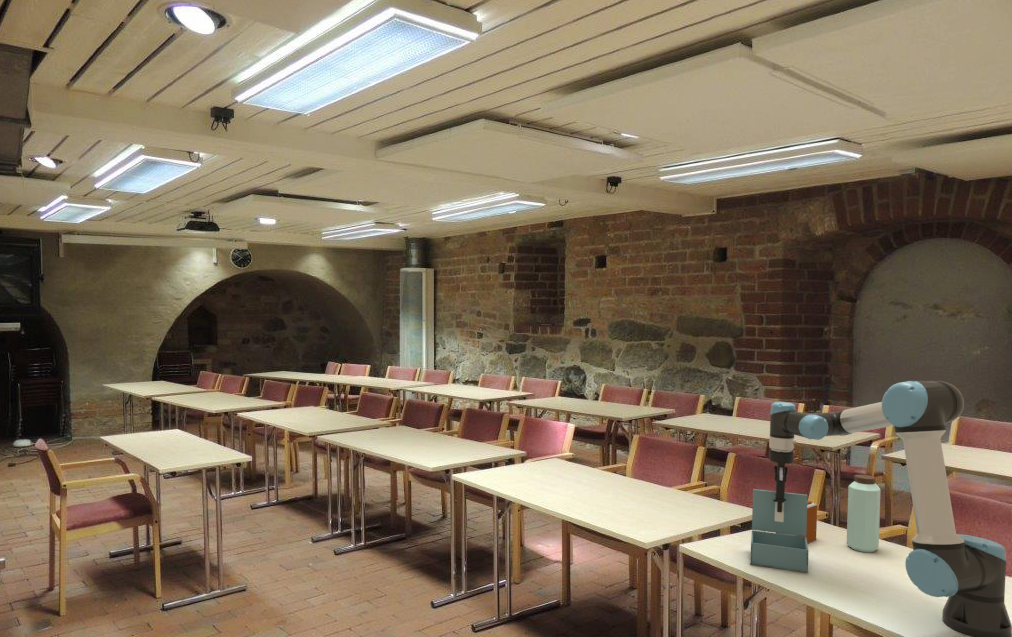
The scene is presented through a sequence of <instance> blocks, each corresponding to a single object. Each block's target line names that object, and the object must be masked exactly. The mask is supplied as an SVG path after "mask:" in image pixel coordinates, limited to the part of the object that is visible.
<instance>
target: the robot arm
mask: <svg viewBox="0 0 1012 637" xmlns="http://www.w3.org/2000/svg"><path fill="white" fill-rule="evenodd" d="M964 408H965V400H964V397H963V395H962V392H961V391H960V390H959V389H958V388H957V387H956V386H955V385H954V384H952V383H950V382H946V381H943V380H907V381H902V382H901V381H900V382H897V383H895V384H892V385H890V387H889V388H888V389H887V390H886V391H885V392H884V394H883V396H882V400H881V401H879V402H875V403H870V404H866V405H862V406H857V407H856V406H855V407H851V408H847V409H842V410H838V411H832V412H831V411H830V412H810V413H809V412H808V413H807V412H801V411H797V409H796V404H794V403H791V402H785V401H784V402H783V401H775V402H772V403H771V406H770V414H769V439H768V440H769V443H768V446H769V451H768V459H769V461H770V462H771V463H776V465H774V466H773V468H774V471H773V472H774V481H775V491H776V494H775V496H776V497H775V499H773V502H775V521H778V522H783V521H784V501H786V499H785V498H784V492H785V491H786V490H785V488H786V482H787V475H788V467H787V466H786V464H792V463H794V460H795V459H794V456H795V455H794V453H795V452H794V449H795V445H794V444H797V441H796V440H795V436H798V437H800V438H801V437H802V438H805V439H808V440H816V441H820V440H822V439H824V438H825V437H832V436H833V437H836V436H837V437H838V436H839V437H843V436H844V437H845V436H849V435H852V434H854V433H858V432H859V433H861V432H865V431H871V430H877V429H883V428H890V427H894V432H895V435H897V436H898V437H899V438H900V439H902V442H903V448H904V455H905V456H904V457H905V462H906V468H907V474H908V480H909V487H910V488H909V489H910V492H911V493H910V495H911V500H912V506H913V512H914V518H915V519H914V521H915V527H916V534H915V535H914V536H913V537H912V539H911V543H912V544H911V545H912V551H909V553H908V556H906V558H905V563H904V564H905V570H906V573H907V576H908V577H909V580H910V581H911V582H912V583H913V585H914V586H916V587H917V589H918V590H920V592H921V593H924V594H925V595H927V596H930V597H935V598H943V597H944V598H947V600H946V602H945V605H944V606H943V609H942V617H941V620H942V621H943V622H944V624H946V626H948V627H950V628H951V629H953V630H955V631H958V633H959V632H960V633H963V634H965V635H968V636H972V637H1012V622H1011V619H1010V616H1009V613H1008V610H1007V607H1006V606H1007V605H1006V604H1005V603H1006V602H1005V596H1006V595H1005V593H1006V573H1007V572H1006V570H1007V562H1008V560H1007V552H1006V551H1007V550H1006V548H1005V547H1004V546H1003V545H1002V544H1000V543H998V542H996V541H993V540H990V539H987V538H983V537H978V536H973V535H969V534H963V533H961V534H960V533H959V534H958V533H957V530H956V525H955V519H954V512H953V507H952V500H951V495H950V488H949V482H948V481H949V480H948V478H947V477H948V476H947V470H946V464H945V459H944V458H945V457H944V452H943V446H942V441H941V438H942V437H943V436H944V434H945V433H946V432H947V430H946V424H948V423H952V422H953V421H955V420H957V419H958V418H959V417H960V416H961V415H962V413H963V411H964ZM785 493H786V492H785Z"/></svg>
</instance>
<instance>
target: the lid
mask: <svg viewBox="0 0 1012 637" xmlns="http://www.w3.org/2000/svg"><path fill="white" fill-rule="evenodd" d="M775 494H776V490H775V491H774V490H773V491H772V490H766V489H755V488H753V489H752V511H751V512H752V516H751V518H752V519H751V531H752V530H754V531H762V532H769V533H782V534H790V535H798V536H806V528H807V501H809V500H808V499H809V498H808V494H803V493H793V492H784V498H785V499H786V501H784V521H783V522H778V521H775V502H773V499H775V497H776V496H775Z"/></svg>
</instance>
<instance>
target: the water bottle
mask: <svg viewBox="0 0 1012 637" xmlns="http://www.w3.org/2000/svg"><path fill="white" fill-rule="evenodd" d="M876 479H877V478H876V477H875V476H873V475H867V474H855V475H853V482H851V483H850V484H849V485H848V486H847V488H848V489H847V490H848V491H847V492H848V493H847V496H848V497H847V518H846V520H847V522H846V545H847V546H848V548H850V547H851V548H850V549H852V550H853V549H854V550H853V551H857V550H858V551H857V552H861V553H874V552H876V550H877V549H878V548H879V544H880V517H881V514H880V513H881V488H880V487H879V485H878V484H877V483H876V482H877V481H876Z"/></svg>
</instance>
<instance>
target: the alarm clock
mask: <svg viewBox="0 0 1012 637" xmlns="http://www.w3.org/2000/svg"><path fill="white" fill-rule="evenodd" d="M817 522H818V504H817V503H815V502H812V500H808V501H807V528H806V536H801V537H806V539H807V543H808V544H810V543H813V542H815V541H816V540H817V530H818V529H817V527H818V526H817V524H818V523H817ZM777 534H782V533H777ZM785 535H790V534H785ZM793 536H798V535H793ZM814 540H815V541H814ZM812 541H813V542H812ZM809 542H810V543H809Z"/></svg>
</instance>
